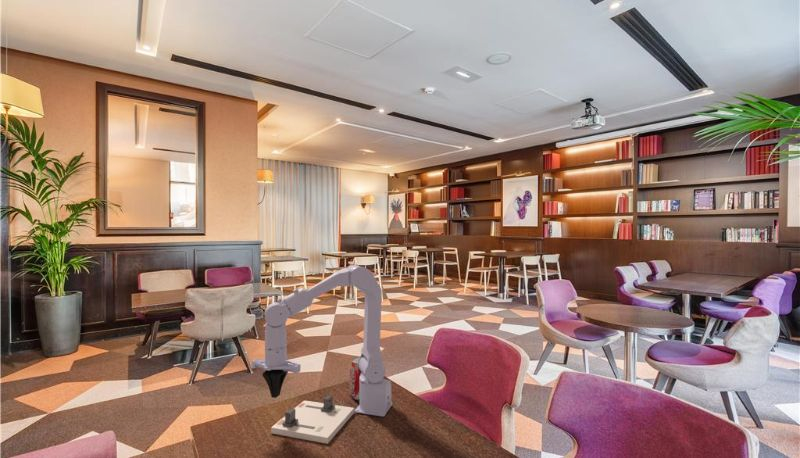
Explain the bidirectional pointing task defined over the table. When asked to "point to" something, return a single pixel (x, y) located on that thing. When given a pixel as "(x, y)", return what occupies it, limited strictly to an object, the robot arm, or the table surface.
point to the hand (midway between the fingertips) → (275, 396)
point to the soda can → (355, 379)
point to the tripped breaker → (290, 418)
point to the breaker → (328, 404)
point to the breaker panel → (315, 422)
